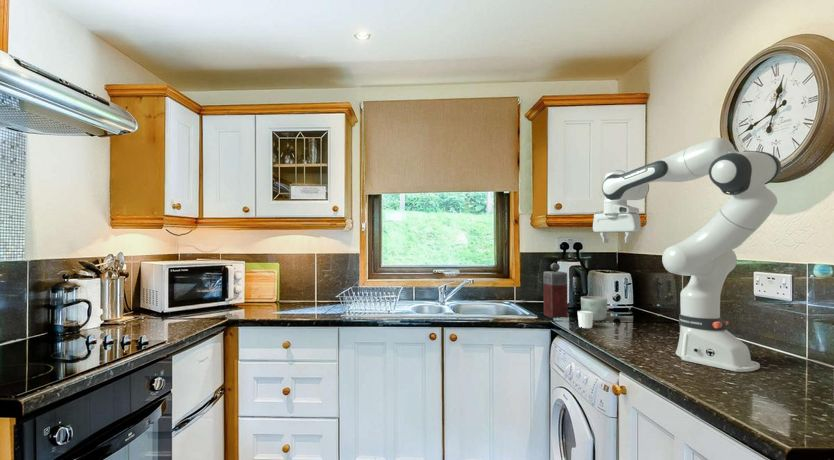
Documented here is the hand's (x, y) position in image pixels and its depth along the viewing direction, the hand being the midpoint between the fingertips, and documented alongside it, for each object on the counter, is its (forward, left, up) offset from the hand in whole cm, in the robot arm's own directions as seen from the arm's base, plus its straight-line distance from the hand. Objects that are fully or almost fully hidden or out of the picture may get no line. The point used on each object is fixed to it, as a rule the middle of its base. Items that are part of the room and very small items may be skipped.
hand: (615, 242), depth 164 cm
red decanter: (+45, -11, -39) cm, 61 cm away
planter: (+29, -22, -39) cm, 54 cm away
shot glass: (+19, -3, -39) cm, 44 cm away
